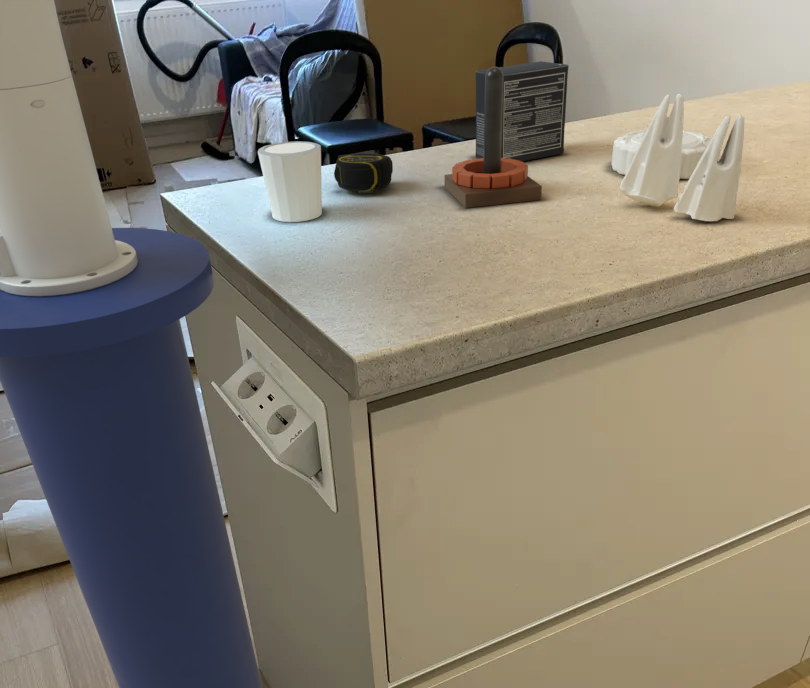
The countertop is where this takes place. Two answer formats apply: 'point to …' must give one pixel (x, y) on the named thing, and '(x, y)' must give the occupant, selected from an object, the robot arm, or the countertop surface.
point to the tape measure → (363, 172)
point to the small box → (527, 110)
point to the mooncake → (630, 142)
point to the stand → (493, 155)
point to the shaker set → (661, 160)
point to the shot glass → (292, 180)
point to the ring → (471, 176)
